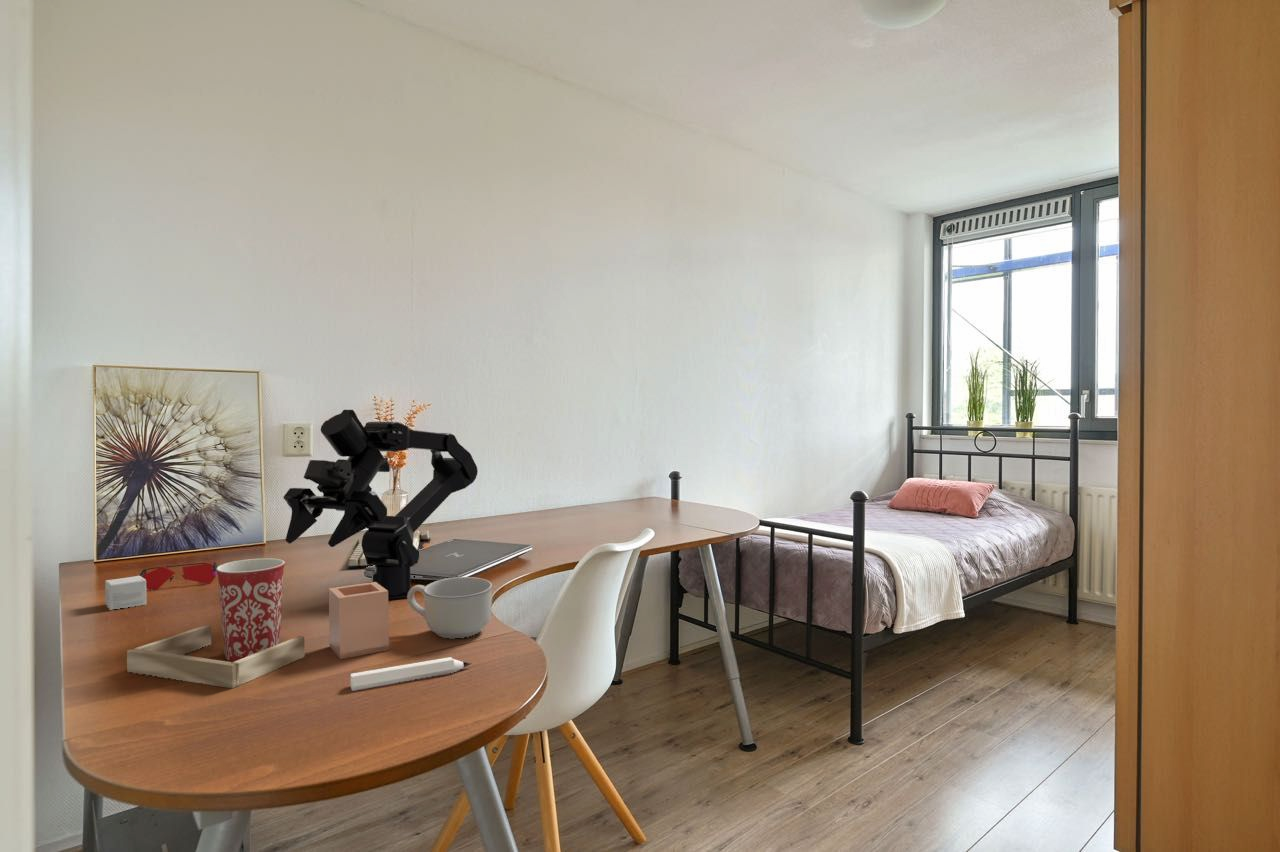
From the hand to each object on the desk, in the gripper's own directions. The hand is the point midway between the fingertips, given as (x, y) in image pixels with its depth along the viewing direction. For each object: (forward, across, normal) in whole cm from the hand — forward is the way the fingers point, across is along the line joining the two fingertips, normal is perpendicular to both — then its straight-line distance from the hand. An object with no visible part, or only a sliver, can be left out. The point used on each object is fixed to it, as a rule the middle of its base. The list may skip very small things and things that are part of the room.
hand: (308, 543), depth 122 cm
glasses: (-2, -52, +22) cm, 57 cm away
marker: (+19, +31, +2) cm, 37 cm away
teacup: (+6, +24, +14) cm, 29 cm away
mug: (+19, +1, +2) cm, 19 cm away
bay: (+23, +2, -2) cm, 23 cm away
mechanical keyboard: (-30, -29, +48) cm, 64 cm away
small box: (+11, -43, +9) cm, 45 cm away
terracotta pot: (+14, +16, +6) cm, 22 cm away
